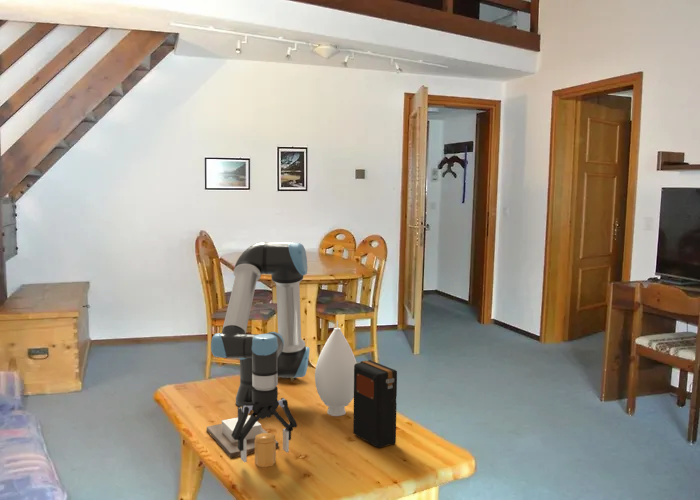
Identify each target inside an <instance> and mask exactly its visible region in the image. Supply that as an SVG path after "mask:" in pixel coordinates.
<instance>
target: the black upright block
mask: <svg viewBox="0 0 700 500" xmlns="http://www.w3.org/2000/svg"><path fill="white" fill-rule="evenodd" d="M397 390H398V371H397V370H396V369H394V368H391V367H389V366H386V365H383V364H380V363H379V362H377V361H374V360H371V359H370V360H369V359H368V360H361V361H360V362H357V363H356V364H355V365H354V397H353V424H352V426H353V429H352V430H353V431H352V432H353V434H354V435H355V436H356V437H359V438H360V439H363V440H364V441H366V442H368V443H369V444H370V445H372V446H374V447H376V448H379V449H380V448H383V447H386V446H390V445H392V446H393V445H396V443H397V442H396V441H397V397H398V396H397V395H398V393H397V392H398V391H397Z"/></svg>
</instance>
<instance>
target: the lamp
mask: <svg viewBox="0 0 700 500" xmlns="http://www.w3.org/2000/svg"><path fill="white" fill-rule="evenodd" d="M356 363H358V362H357V360H356V356H355V355H354V352H353V350H352V347H351V345H350V344H349V342H348V340H347V339H346V337H345V335H344V333H343V332H342V328H340V327H339V320H338V319H337V320H336V327H334V328H333V331H332V332H331V333H330V335H329V337H328V338H327V340H326V341H325V344H324V346H323V347H322V349H321V351H320V354H319V356H318V358H317V362H316V366H315V371H314V382H315V387H316V388H315V389H316V391H317V394H318V396H319V398H320V400H321V401H322V402H323V404H324V405H325V406H326V407H328V408H327V412H326V413H327V414H328V415H329V416H332V417H340V416H344V415H346V408H345V407H347V406H349V404H350V403H351V402H352V401H353V400H354V365H355V364H356Z"/></svg>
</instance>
